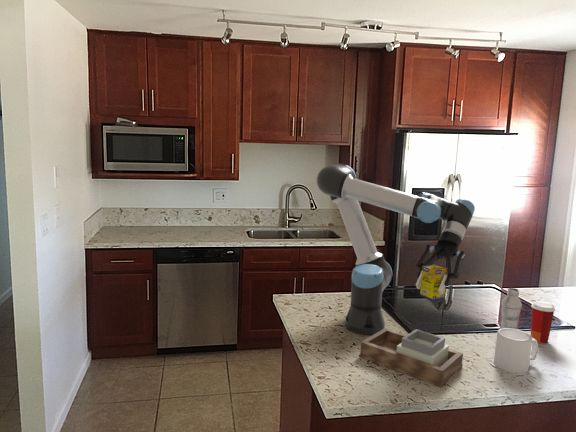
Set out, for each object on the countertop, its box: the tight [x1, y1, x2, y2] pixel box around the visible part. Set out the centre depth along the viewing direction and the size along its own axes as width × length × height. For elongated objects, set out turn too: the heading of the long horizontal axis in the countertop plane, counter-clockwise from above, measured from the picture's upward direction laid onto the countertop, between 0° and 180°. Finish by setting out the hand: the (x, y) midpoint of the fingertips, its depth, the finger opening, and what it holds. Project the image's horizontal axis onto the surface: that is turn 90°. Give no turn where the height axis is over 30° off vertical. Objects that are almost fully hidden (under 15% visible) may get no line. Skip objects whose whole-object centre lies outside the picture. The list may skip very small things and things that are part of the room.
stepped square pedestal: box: [397, 328, 450, 368], centre depth 149 cm, size 12×12×8 cm
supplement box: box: [419, 264, 448, 302], centre depth 161 cm, size 6×6×11 cm
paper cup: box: [530, 300, 556, 345], centre depth 170 cm, size 8×8×14 cm
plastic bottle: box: [499, 287, 523, 330], centre depth 167 cm, size 6×7×20 cm
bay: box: [359, 327, 464, 388], centre depth 152 cm, size 28×17×5 cm, turn 49°
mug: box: [493, 328, 539, 374], centre depth 151 cm, size 14×10×11 cm
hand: (428, 289), depth 159 cm, fingers closed on supplement box, 7 cm apart
